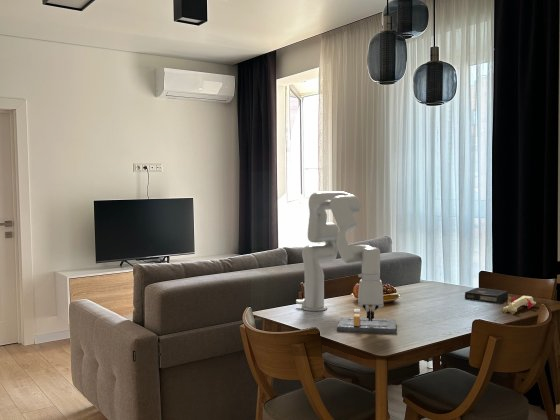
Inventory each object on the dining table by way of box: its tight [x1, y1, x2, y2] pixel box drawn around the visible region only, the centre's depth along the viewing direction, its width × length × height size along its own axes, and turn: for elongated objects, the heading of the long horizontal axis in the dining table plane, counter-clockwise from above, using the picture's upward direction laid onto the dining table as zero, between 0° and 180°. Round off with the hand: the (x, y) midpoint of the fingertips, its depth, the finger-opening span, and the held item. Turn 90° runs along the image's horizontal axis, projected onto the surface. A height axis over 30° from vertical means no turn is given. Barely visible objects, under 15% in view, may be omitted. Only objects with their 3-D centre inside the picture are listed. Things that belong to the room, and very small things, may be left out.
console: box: [336, 317, 397, 335], centre depth 239 cm, size 24×16×2 cm, turn 79°
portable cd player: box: [464, 287, 509, 304], centre depth 293 cm, size 16×17×4 cm
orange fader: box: [353, 313, 361, 326], centre depth 235 cm, size 2×4×4 cm, turn 169°
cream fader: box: [353, 308, 361, 315], centre depth 244 cm, size 2×4×4 cm, turn 169°
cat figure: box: [501, 295, 537, 315], centre depth 269 cm, size 10×9×25 cm
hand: (370, 320), depth 234 cm, fingers closed
